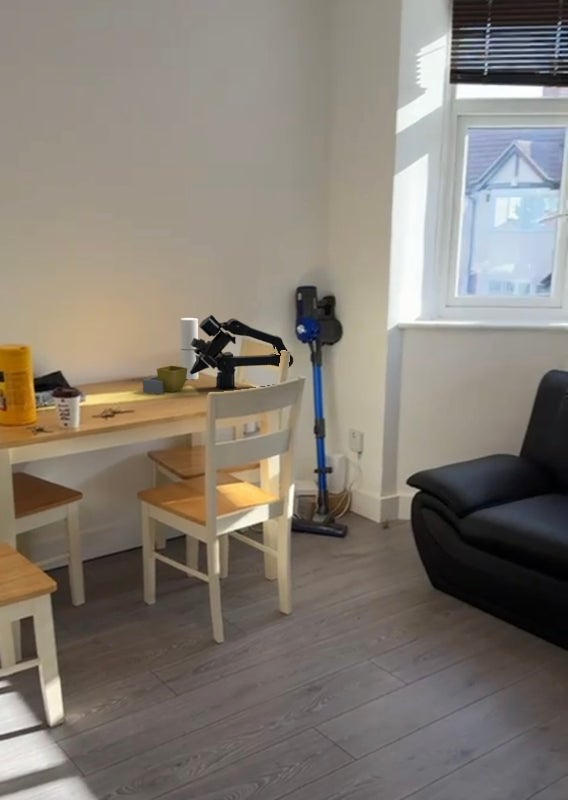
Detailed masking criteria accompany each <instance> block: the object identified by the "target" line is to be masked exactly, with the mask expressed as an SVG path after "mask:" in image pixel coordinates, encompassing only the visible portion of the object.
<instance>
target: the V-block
mask: <svg viewBox="0 0 568 800" xmlns="http://www.w3.org/2000/svg"><path fill="white" fill-rule="evenodd" d="M142 391H143V393H148V394H153V393H154V395H155V394H156V395H164V390H163V381H158V375H155V376H149V377H147V378H143V379H142Z"/></svg>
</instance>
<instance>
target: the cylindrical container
mask: <svg viewBox="0 0 568 800" xmlns="http://www.w3.org/2000/svg"><path fill="white" fill-rule="evenodd" d="M193 338H196V339H198V340H199V319H198V318H195V317H181V318H180V367H185V368H187V376H186V379H187V380H186V381H192V380H191V379H194V380H198V379H199V372H197V373H194V374H191V373H190V371H191V369H192V367H193V365H194V363H195V361H196V355H197V354H196V353H195V352H194V350H195V349H196V348H195V347H193V346H192V345H191V343H192V341H193Z"/></svg>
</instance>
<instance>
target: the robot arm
mask: <svg viewBox="0 0 568 800" xmlns="http://www.w3.org/2000/svg"><path fill="white" fill-rule="evenodd" d="M198 328H200V329H201V330H202V331H203V332H204V333H205V334H206V335H207V336H208V337H209V338H210V337H213V338H212V339H211V340H208V341H205V339H202V338H198V339H196V338H193V341H192V343H191V345H192V346H193V347H195V348H196V349H195V350H194V352H195V353H196V354H197V355H196V361H195V363H194V365H193V367H192V369H191V371H190V373H191V374H194V373H197V372H198V373H199V372H201V371H203V370H206V369H210V367H211V368H212V369H213V370H215V369H217V374H216V384H215V386H216V387H215V388H217V387H219V388H218V389H220V388H222V389H221V390H223V389H225V390H230V389H237V388H238V387H237V386H236V385H235V383H236V382H235V379H236V378H235V377H236V375H235V373H236V368H237V367H254V366H255V367H256V366H272V367H273V366H274V367H279V363H280V356H281V353H280V351H281V350H286V351H288V352H289V350H288V349H287V347H286V346H285V344H284V341H283V339H282V337H280V336H279V335H275V334H272V333H268V332H265V331H263V330H260V329H257V328H254V327H252V326H251V327H250V326H249V325H247V324H246V323H243V322H242V321H240V320H238V319H237V318H233V317H232V318H230V319H228V320H227V321H223V322H220V321H218V320H217V319H216V318H215V316H214V315H212V314H210V315H209V316H207V317H206V318H205V319H203V320H202V321H201V322H200V324H198ZM224 331H226V332H224ZM231 334H232V335H235V336H232V335H231ZM236 336H242V337H250V338H253V339H256V340H258V341H260V342H261V341H262V342H265V343H266V344H270V345H272V348H274V349H275V347H276V349H277V351H278V353H279V354H280V355H276V354H273V353H270V354H261V355H260V354H258V355H237V356H236V355H234V353H232V352H231V351H225V352H223V350H224V349H225V348H226V347H227V346H228V345H229V343H232V344H234V345H236V344H237V341H236ZM274 349H273V350H274ZM293 363H294V357H293V356H292V354H290V362H289V367H288V368H290V367H292V365H293ZM279 368H280V367H279Z"/></svg>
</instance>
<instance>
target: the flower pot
mask: <svg viewBox="0 0 568 800" xmlns="http://www.w3.org/2000/svg"><path fill="white" fill-rule="evenodd" d="M156 374H157V375H156V376H158V381H163V392H164V391H165V392H171V393H174V392H178V390H179V391H181V390H182V389H183V388H184V386H185V384H186V381H187V380H186V376H187V368H185V367H181V366H178V365H172V364H171V365H165V366H161V367H157V368H156Z"/></svg>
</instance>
